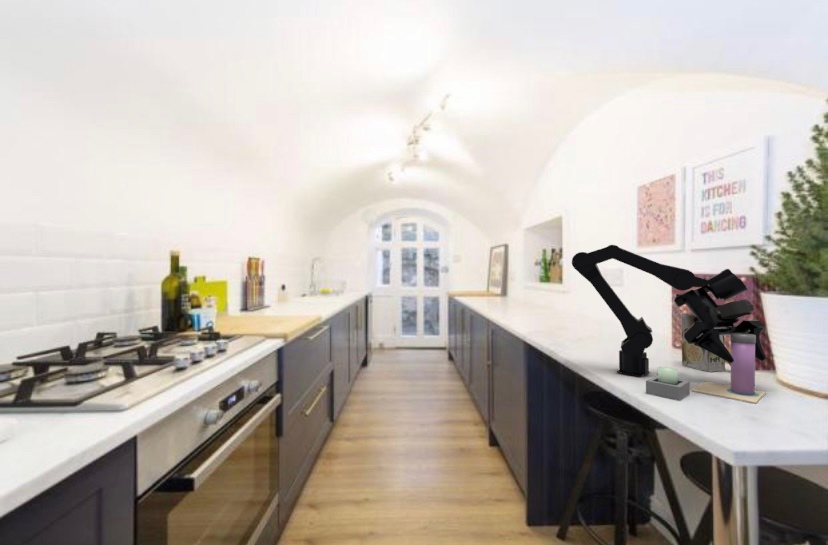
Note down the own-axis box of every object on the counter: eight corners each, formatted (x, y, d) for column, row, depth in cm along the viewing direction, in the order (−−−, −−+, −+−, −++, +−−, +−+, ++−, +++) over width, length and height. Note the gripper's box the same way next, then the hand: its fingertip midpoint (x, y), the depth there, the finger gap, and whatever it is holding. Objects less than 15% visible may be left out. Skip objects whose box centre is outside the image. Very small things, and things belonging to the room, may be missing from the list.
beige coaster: (691, 391, 95) (691, 389, 95) (705, 382, 102) (705, 381, 102) (755, 403, 86) (755, 402, 86) (766, 393, 92) (766, 392, 92)
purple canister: (727, 391, 93) (728, 333, 93) (732, 388, 96) (733, 332, 96) (752, 396, 89) (753, 336, 89) (757, 392, 92) (757, 334, 92)
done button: (655, 385, 93) (655, 368, 93) (661, 381, 96) (661, 365, 96) (674, 388, 90) (674, 371, 90) (680, 385, 93) (680, 368, 93)
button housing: (645, 393, 94) (645, 380, 94) (657, 387, 98) (657, 375, 98) (679, 400, 88) (679, 387, 88) (689, 394, 93) (689, 381, 93)
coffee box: (726, 370, 113) (726, 315, 113) (709, 372, 111) (708, 316, 111) (696, 363, 122) (696, 312, 122) (680, 365, 120) (680, 313, 120)
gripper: (693, 289, 94) (739, 342, 84) (757, 287, 98) (809, 339, 87) (667, 317, 102) (705, 370, 91) (727, 315, 106) (771, 365, 95)
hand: (748, 360), depth 91 cm, fingers open, 9 cm apart
